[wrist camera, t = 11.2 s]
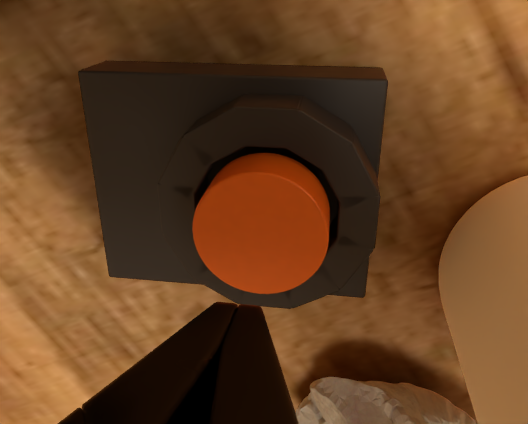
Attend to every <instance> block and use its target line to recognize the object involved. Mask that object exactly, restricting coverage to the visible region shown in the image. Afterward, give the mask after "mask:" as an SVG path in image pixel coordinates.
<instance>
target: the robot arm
mask: <svg viewBox="0 0 528 424" xmlns="http://www.w3.org/2000/svg"><path fill="white" fill-rule="evenodd" d="M58 424H299V422H298V419H297V416H296V413H295V410H294V407H293V404H292V401H291V398H290V394H289V391H288V388H287V385H286V382H285V379H284V376H283V373H282V370H281V367H280V363H279V360H278V357H277V354H276V351H275V348H274V345H273V342H272V339H271V335H270V332H269V329H268V326H267V323H266V320H265V317H264V314H263V311H262V308H261V307H260V306H255V305H245V304H241V305H239V306H237V304H234V303H225V302H216V303H214V304H213V305H211V306H210V307H209V308H207V309H206V310H205V311H203V312H202V313H201V314H200V315H198V316H197V317H196V318H194V319H193V320H192V321H191V322H189V323H188V324H187V325H185V326H184V327H183V328H181V329H180V330H179V331H178V332H176V333H175V334H174V335H172V336H171V337H170V338H168V339H167V340H166V341H165V342H163V343H162V344H161V345H159V346H158V347H157V348H155V349H154V350H153V351H152V352H150V353H149V354H148V355H146V356H145V357H144V358H143V359H141V360H140V361H139V362H137V363H136V364H135V365H133V366H132V367H131V368H130V369H128V370H127V371H126V372H124V373H123V374H122V375H120V376H119V377H118V378H117V379H115V380H114V381H113V382H111V383H110V384H109V385H107V386H106V387H105V388H104V389H102V390H101V391H100V392H98V393H97V394H96V395H95V396H93V397H92V398H91V399H89V400H88V401H87V402H85V403H84V404H83V405H82V409H81V408H77V409H76V410H75V411H73V412H72V413H71V414H70V415H68V416H67V417H66V418H64V419H63V420H62V421H60V422H59V423H58Z"/></svg>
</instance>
